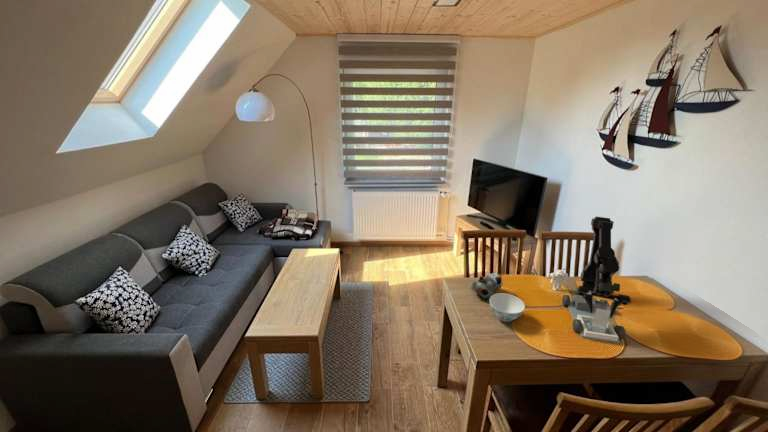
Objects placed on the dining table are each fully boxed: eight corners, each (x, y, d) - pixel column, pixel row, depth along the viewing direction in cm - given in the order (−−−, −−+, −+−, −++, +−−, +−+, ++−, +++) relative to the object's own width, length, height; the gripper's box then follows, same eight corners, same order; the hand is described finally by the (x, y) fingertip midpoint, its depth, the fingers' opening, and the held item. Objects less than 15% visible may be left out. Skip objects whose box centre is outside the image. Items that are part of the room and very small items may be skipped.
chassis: (561, 300, 162) (563, 291, 161) (602, 305, 158) (604, 296, 156) (576, 336, 138) (578, 326, 136) (625, 344, 134) (628, 334, 132)
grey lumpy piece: (473, 283, 176) (488, 262, 172) (493, 297, 172) (509, 277, 168) (467, 289, 163) (483, 267, 159) (488, 305, 158) (505, 283, 155)
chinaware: (527, 316, 150) (530, 302, 147) (514, 332, 140) (516, 318, 137) (496, 303, 160) (498, 289, 157) (481, 317, 150) (483, 303, 147)
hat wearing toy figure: (563, 287, 173) (568, 267, 169) (567, 291, 169) (571, 270, 165) (546, 286, 173) (550, 266, 169) (549, 290, 170) (553, 270, 165)
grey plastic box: (588, 323, 144) (594, 300, 140) (602, 326, 142) (608, 303, 138) (590, 331, 139) (596, 308, 135) (603, 335, 137) (610, 311, 133)
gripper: (582, 269, 139) (579, 305, 134) (636, 279, 132) (634, 318, 126) (577, 276, 149) (574, 310, 143) (627, 286, 141) (625, 323, 136)
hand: (600, 315), depth 137 cm, fingers open, 7 cm apart
